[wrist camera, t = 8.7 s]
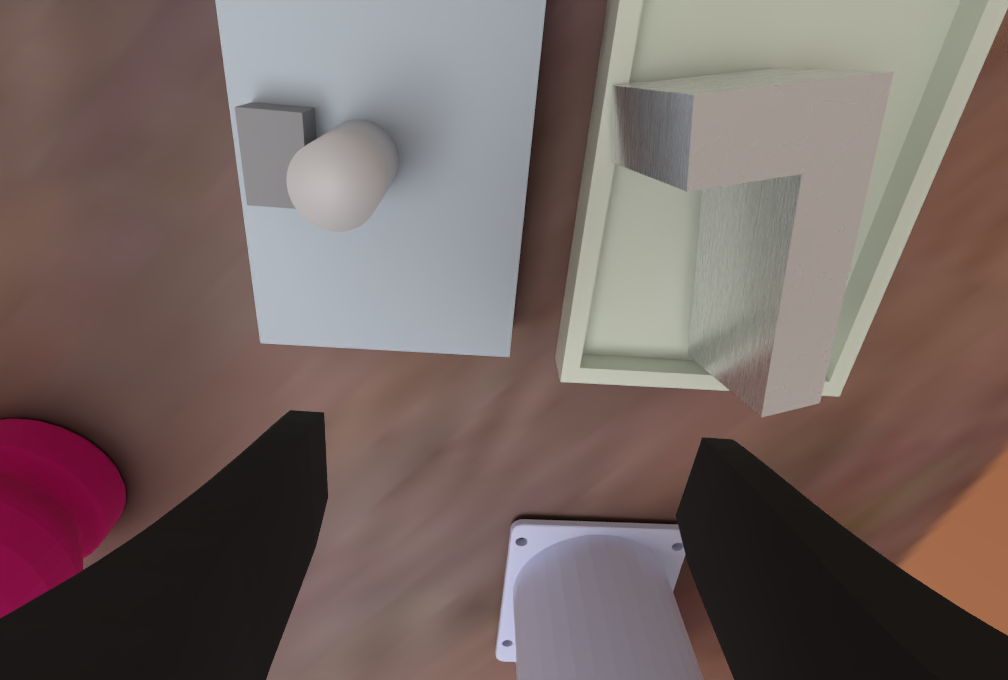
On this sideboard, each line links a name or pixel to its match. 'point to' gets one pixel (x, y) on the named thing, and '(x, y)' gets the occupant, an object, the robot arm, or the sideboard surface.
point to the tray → (675, 213)
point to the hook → (762, 211)
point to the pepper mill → (50, 507)
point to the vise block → (383, 166)
